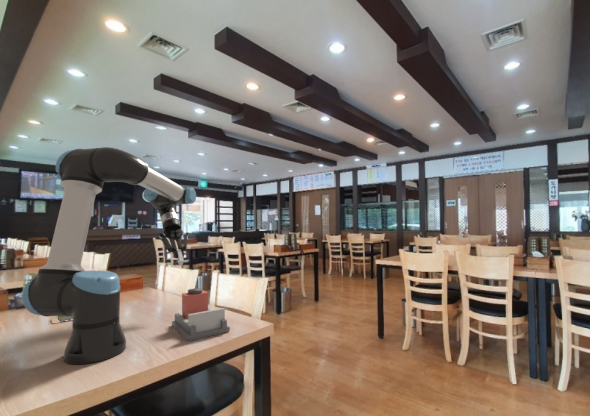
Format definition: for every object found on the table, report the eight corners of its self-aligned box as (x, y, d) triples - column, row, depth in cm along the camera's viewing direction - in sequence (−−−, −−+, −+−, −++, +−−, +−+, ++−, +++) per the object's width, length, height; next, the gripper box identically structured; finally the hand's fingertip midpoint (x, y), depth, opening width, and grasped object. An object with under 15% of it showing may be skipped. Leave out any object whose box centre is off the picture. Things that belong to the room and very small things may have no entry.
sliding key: (186, 324, 109) (185, 292, 110) (182, 321, 113) (182, 290, 114) (208, 319, 114) (207, 289, 115) (203, 316, 118) (203, 287, 119)
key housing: (188, 341, 97) (187, 317, 98) (171, 325, 114) (171, 304, 114) (229, 331, 106) (229, 309, 106) (208, 317, 122) (208, 298, 122)
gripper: (183, 229, 151) (194, 267, 136) (154, 230, 143) (163, 270, 129) (186, 217, 146) (198, 255, 132) (157, 218, 139) (166, 258, 125)
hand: (181, 263), depth 130 cm, fingers closed
